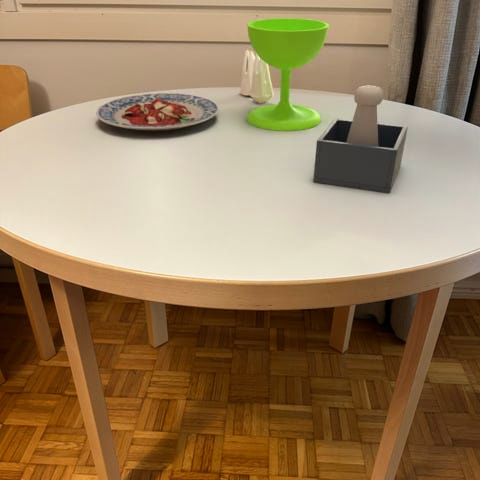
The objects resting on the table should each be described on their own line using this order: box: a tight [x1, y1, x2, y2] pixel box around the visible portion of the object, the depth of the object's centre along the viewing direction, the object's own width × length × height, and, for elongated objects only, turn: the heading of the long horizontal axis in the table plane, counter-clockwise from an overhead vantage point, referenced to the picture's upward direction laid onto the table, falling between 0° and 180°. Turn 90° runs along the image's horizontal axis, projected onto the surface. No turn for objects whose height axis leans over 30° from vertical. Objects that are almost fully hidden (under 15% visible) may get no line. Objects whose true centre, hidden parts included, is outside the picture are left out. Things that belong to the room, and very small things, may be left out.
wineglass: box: [246, 17, 330, 132], centre depth 109 cm, size 16×16×18 cm
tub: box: [312, 118, 409, 194], centre depth 87 cm, size 12×12×7 cm
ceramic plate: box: [95, 92, 219, 132], centre depth 113 cm, size 26×26×3 cm
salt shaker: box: [346, 84, 384, 147], centre depth 85 cm, size 6×6×13 cm
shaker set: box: [239, 49, 275, 104], centre depth 123 cm, size 12×4×11 cm, turn 22°
